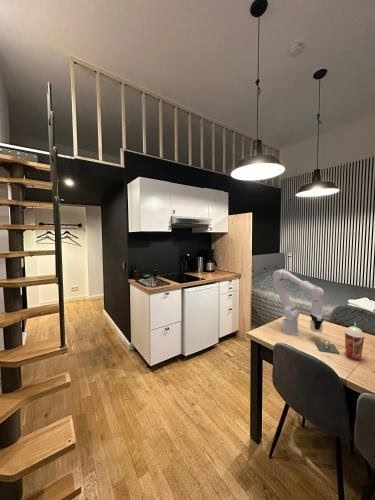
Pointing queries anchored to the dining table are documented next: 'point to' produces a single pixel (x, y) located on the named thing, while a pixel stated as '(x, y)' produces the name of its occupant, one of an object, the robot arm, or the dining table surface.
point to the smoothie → (354, 342)
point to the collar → (314, 327)
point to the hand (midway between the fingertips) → (315, 327)
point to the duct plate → (332, 347)
